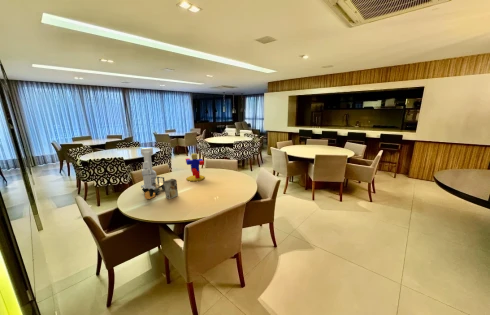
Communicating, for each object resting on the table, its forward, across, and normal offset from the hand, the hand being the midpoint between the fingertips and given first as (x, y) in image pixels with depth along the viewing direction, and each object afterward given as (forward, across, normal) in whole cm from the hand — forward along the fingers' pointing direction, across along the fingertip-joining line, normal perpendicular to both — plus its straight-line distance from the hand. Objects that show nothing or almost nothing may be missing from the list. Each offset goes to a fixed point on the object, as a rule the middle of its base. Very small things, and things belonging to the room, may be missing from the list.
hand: (149, 195), depth 175 cm
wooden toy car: (+3, -6, +14) cm, 16 cm away
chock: (+2, 0, +1) cm, 2 cm away
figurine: (+3, +11, +60) cm, 61 cm away
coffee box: (+3, +17, +10) cm, 20 cm away
